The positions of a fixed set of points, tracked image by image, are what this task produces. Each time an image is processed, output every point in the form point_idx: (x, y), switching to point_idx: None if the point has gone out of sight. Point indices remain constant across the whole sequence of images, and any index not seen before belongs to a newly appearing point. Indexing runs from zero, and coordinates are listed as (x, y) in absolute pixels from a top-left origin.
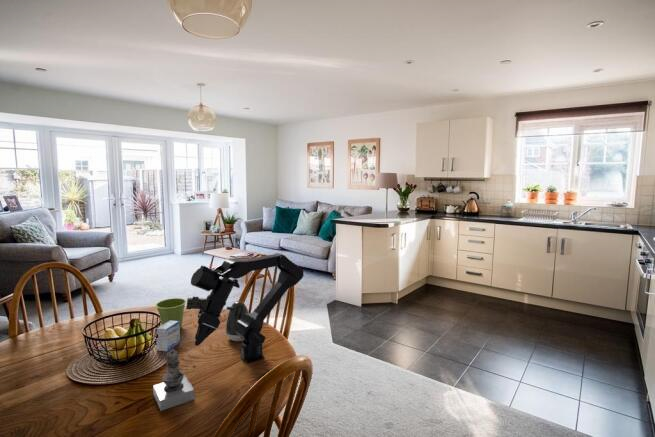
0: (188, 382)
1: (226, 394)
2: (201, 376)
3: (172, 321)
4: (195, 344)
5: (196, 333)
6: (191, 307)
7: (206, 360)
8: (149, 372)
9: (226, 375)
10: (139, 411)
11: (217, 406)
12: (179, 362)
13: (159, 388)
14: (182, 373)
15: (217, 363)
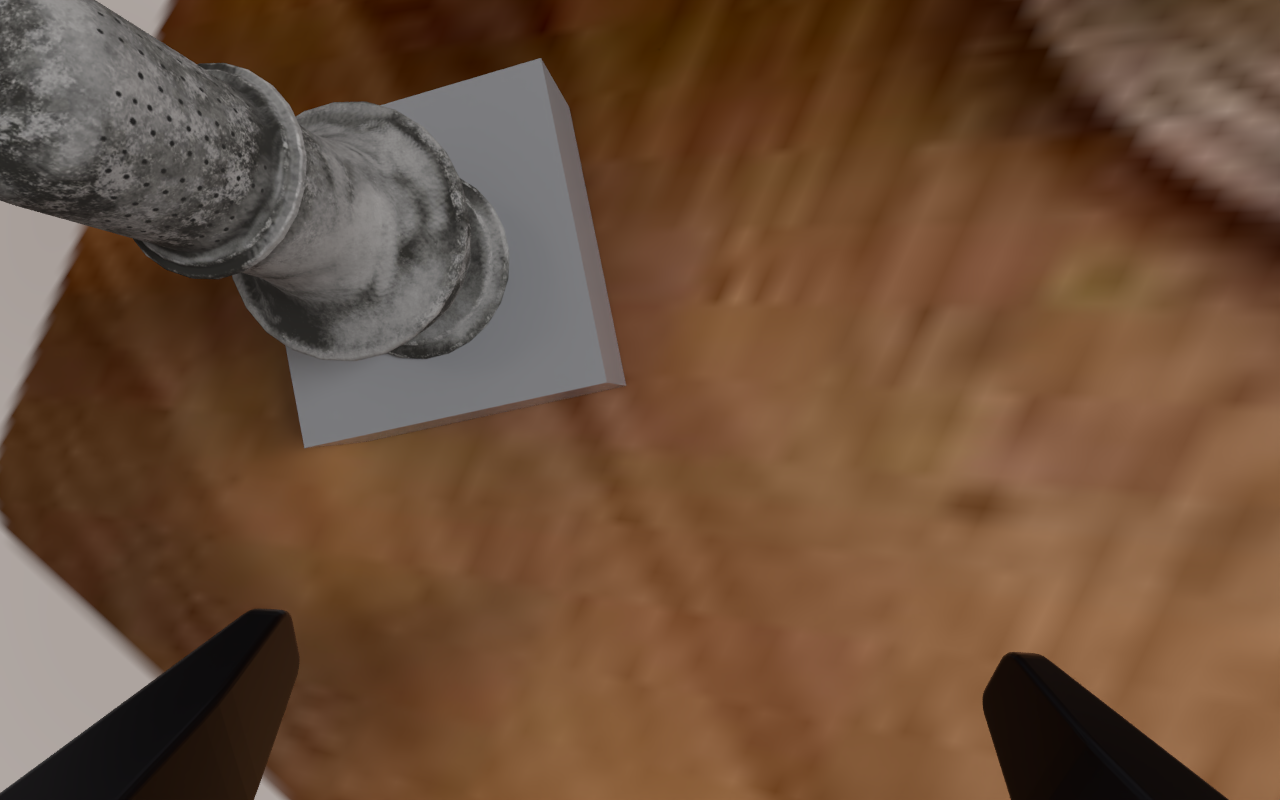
0: (451, 408)
1: (325, 708)
2: (719, 549)
3: None
4: (240, 628)
5: (1109, 760)
6: None
7: (1072, 654)
8: (1049, 25)
9: (633, 786)
10: (378, 19)
11: (202, 604)
12: (186, 274)
13: (455, 125)
14: (336, 337)
15: (936, 758)
